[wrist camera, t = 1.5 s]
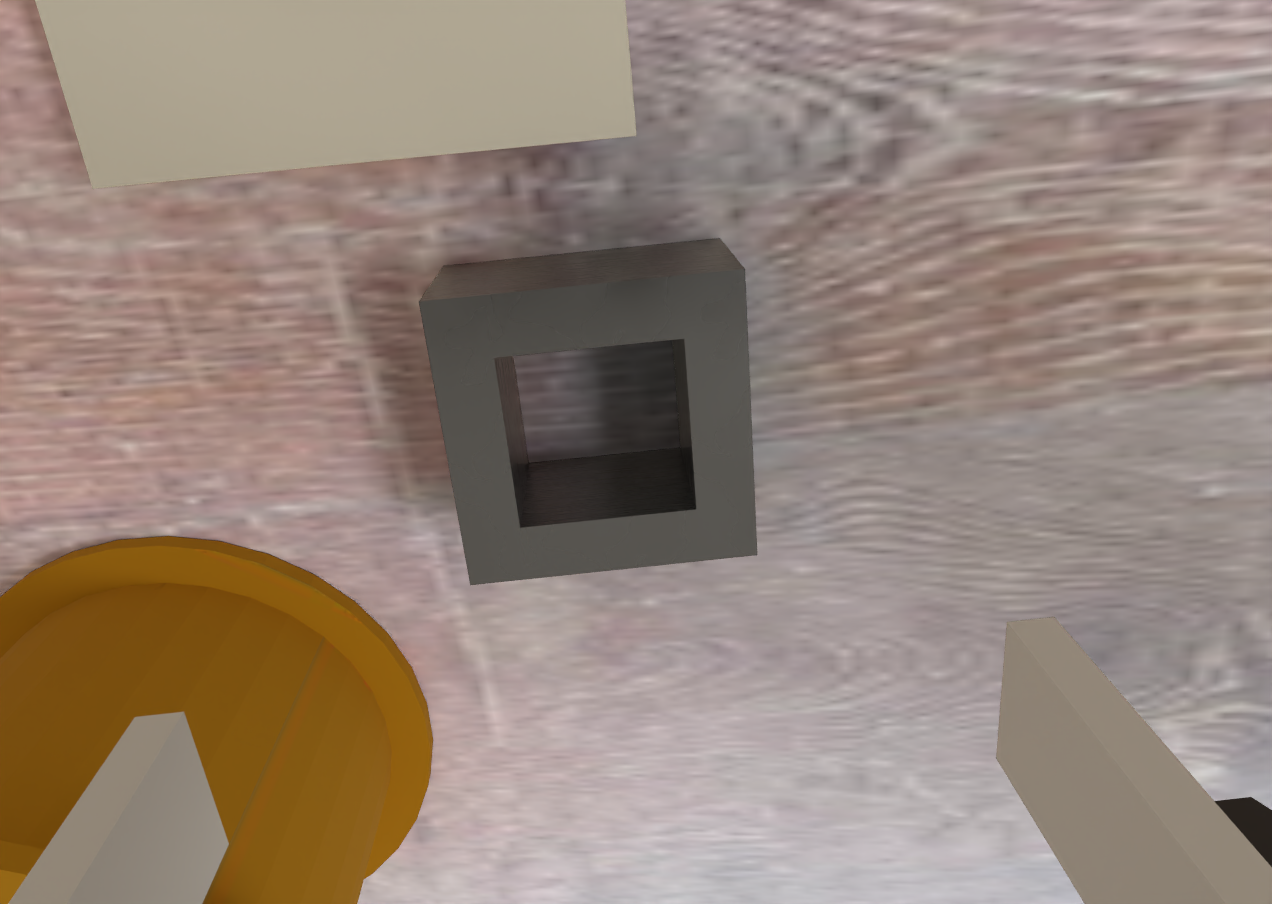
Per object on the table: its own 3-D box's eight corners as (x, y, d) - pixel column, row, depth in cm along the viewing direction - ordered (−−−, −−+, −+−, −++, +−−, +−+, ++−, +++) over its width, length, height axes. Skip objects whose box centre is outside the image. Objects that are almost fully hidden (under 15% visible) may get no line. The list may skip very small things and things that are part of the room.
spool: (476, 870, 40) (421, 1293, 26) (66, 935, 40) (-204, 1390, 26) (367, 498, 33) (213, 807, 19) (-128, 578, 33) (-633, 942, 19)
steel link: (719, 238, 30) (744, 269, 26) (733, 488, 34) (757, 554, 29) (443, 265, 30) (418, 301, 25) (485, 513, 33) (470, 585, 29)
